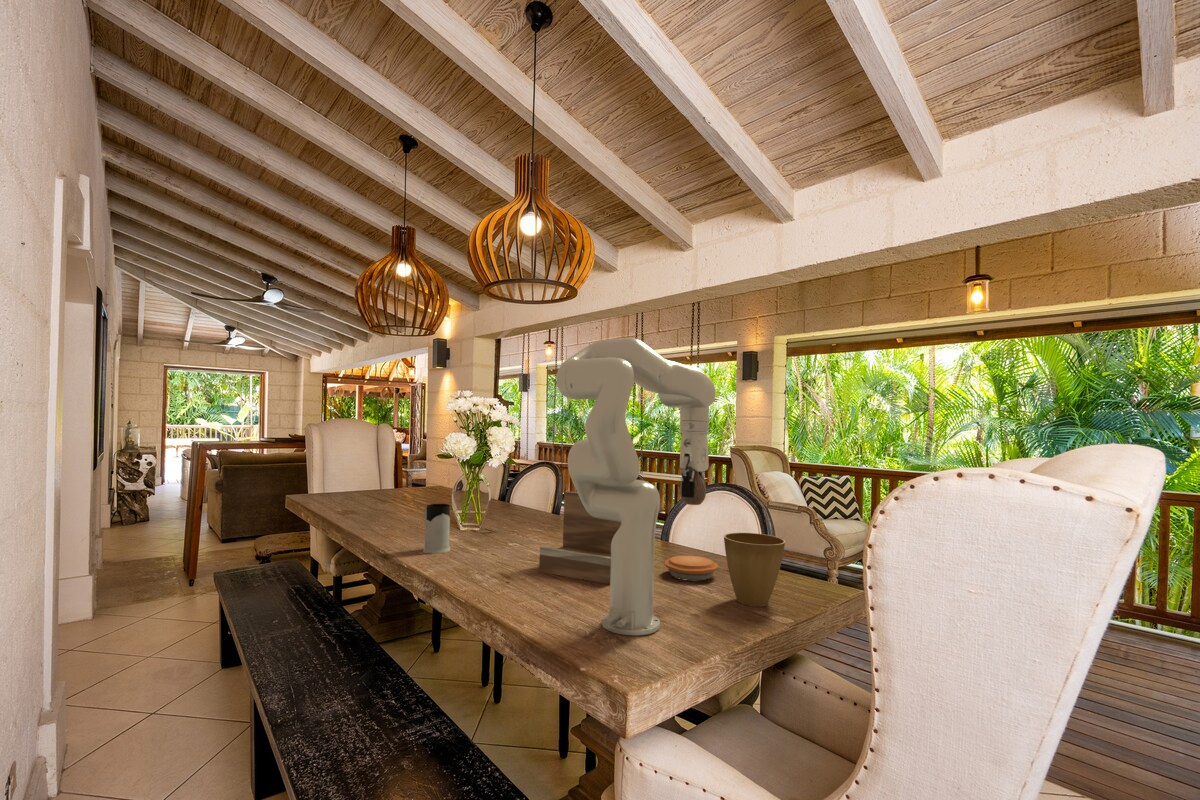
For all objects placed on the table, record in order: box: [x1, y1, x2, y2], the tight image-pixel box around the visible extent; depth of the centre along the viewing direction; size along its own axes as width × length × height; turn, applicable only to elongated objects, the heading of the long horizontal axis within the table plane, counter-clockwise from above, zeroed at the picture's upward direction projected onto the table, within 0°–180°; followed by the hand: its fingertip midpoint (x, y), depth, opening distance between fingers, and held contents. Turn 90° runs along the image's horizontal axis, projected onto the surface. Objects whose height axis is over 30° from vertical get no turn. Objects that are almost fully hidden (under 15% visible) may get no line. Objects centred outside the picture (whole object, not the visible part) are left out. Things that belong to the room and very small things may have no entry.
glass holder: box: [422, 503, 451, 555], centre depth 190 cm, size 9×14×15 cm, turn 41°
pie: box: [664, 555, 719, 581], centre depth 164 cm, size 16×16×5 cm
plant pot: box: [723, 532, 786, 607], centre depth 141 cm, size 15×15×16 cm
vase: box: [679, 471, 707, 506], centre depth 148 cm, size 7×7×9 cm
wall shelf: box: [538, 490, 621, 585], centre depth 165 cm, size 14×24×22 cm, turn 61°
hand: (692, 495), depth 148 cm, fingers closed on vase, 6 cm apart
